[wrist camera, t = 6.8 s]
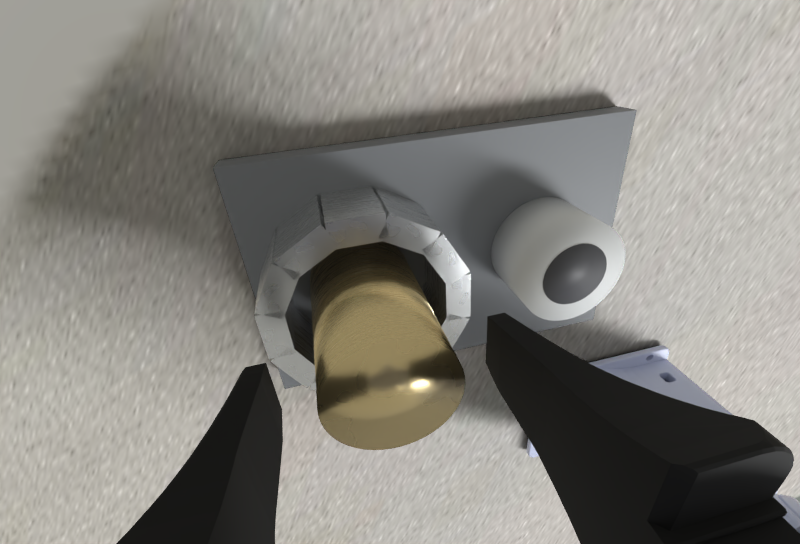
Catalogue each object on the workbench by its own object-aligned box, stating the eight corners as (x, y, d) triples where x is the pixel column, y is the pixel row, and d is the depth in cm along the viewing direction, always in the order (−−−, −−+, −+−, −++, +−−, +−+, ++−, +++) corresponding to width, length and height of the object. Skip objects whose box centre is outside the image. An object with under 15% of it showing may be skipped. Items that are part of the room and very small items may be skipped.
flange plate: (616, 106, 18) (700, 121, 14) (580, 307, 23) (633, 355, 19) (218, 160, 15) (193, 195, 11) (285, 371, 21) (283, 441, 17)
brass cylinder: (405, 226, 17) (465, 324, 11) (411, 310, 19) (464, 430, 13) (300, 243, 16) (303, 358, 10) (319, 328, 18) (331, 464, 12)
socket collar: (443, 175, 16) (471, 198, 13) (448, 329, 20) (469, 370, 17) (239, 206, 15) (228, 239, 12) (288, 363, 19) (286, 413, 16)
